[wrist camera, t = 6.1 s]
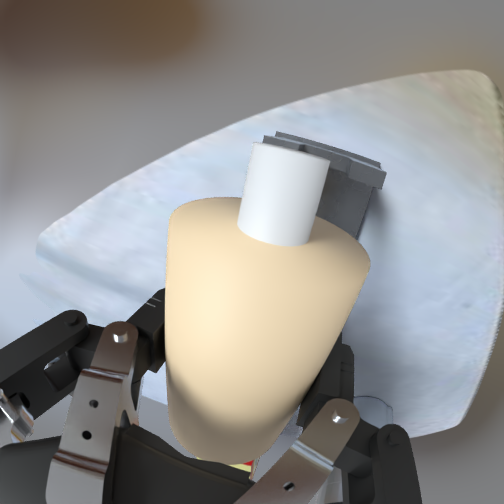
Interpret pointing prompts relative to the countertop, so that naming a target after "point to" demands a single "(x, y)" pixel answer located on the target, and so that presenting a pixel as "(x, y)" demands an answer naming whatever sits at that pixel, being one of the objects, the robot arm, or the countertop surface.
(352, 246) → the paper roll
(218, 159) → the countertop surface
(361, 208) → the roll holder
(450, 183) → the countertop surface
